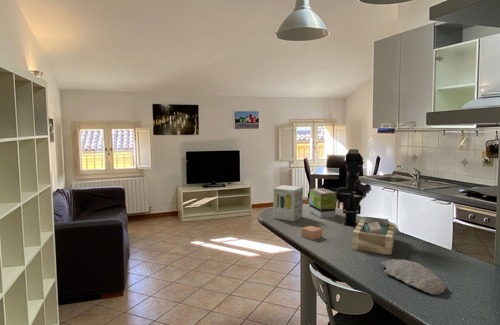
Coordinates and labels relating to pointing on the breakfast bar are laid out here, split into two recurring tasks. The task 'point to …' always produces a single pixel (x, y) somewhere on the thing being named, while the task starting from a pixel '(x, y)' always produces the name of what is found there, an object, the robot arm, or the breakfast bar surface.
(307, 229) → the plinth
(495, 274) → the breakfast bar surface
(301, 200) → the supplement box
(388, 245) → the trapdoor box
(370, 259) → the breakfast bar surface
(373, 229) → the stone pillar
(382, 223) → the trapdoor
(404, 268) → the stone
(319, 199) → the tea box
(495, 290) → the breakfast bar surface
